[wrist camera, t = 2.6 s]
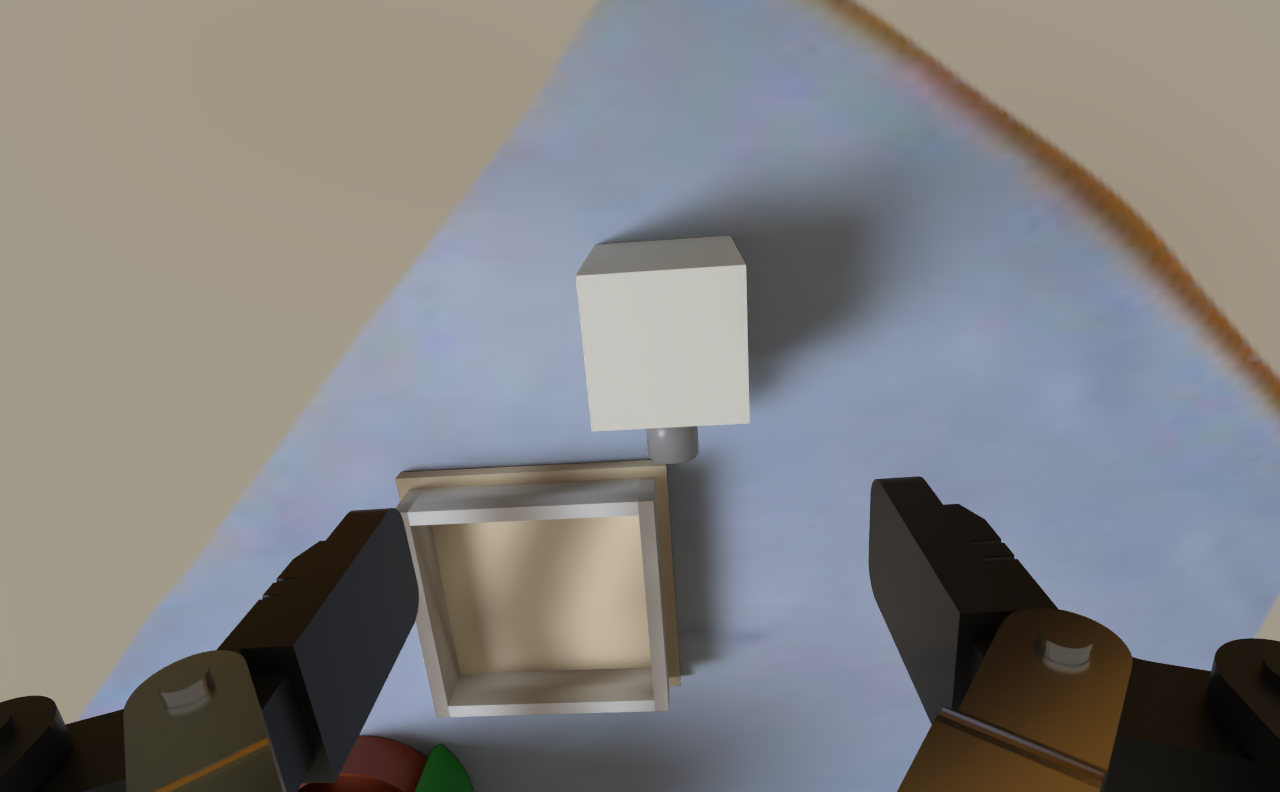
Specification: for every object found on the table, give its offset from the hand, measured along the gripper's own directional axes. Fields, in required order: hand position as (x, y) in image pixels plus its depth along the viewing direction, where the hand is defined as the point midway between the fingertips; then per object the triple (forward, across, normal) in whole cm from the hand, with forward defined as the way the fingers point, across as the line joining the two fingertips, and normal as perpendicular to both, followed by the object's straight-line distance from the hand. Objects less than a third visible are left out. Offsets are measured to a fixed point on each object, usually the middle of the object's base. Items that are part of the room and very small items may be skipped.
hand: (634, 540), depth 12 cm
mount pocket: (+16, +6, +12) cm, 21 cm away
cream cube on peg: (+16, -1, 0) cm, 16 cm away
